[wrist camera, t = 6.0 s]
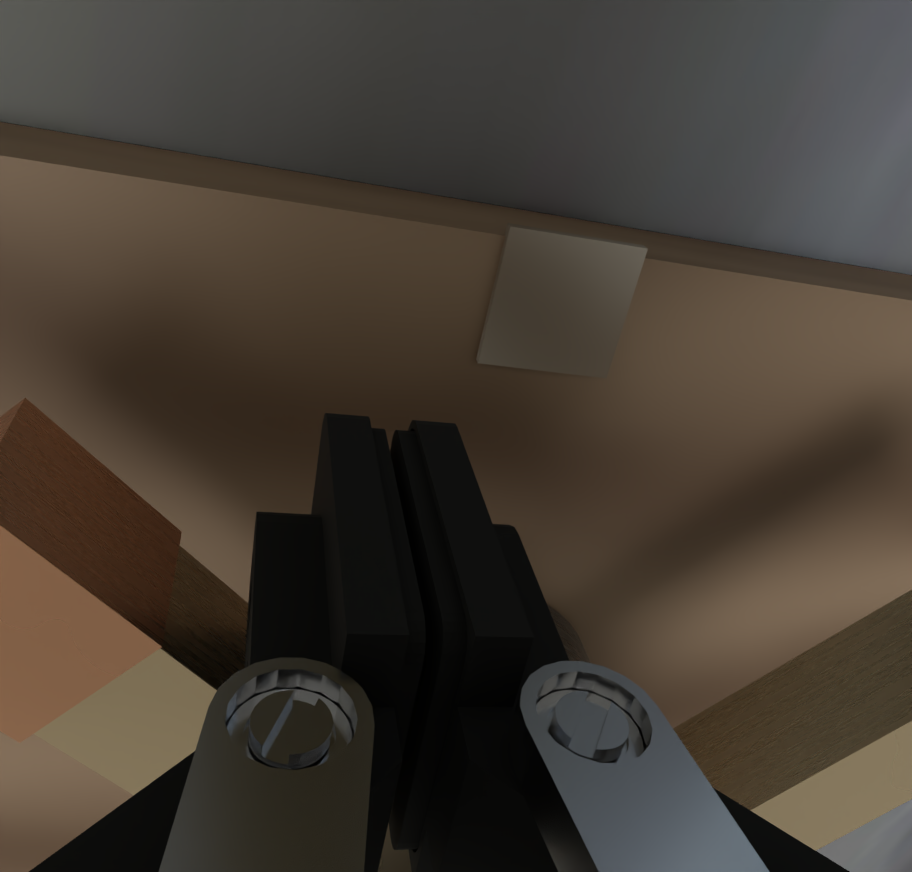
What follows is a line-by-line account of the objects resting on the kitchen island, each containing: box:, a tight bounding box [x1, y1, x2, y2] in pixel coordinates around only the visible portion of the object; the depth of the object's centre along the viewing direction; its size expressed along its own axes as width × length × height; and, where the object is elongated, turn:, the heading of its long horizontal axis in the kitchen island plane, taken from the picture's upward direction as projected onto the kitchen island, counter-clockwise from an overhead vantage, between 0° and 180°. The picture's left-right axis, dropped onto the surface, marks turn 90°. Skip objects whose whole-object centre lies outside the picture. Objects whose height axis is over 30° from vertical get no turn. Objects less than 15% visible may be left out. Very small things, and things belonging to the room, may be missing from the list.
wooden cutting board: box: [0, 122, 912, 872], centre depth 19 cm, size 20×24×2 cm
